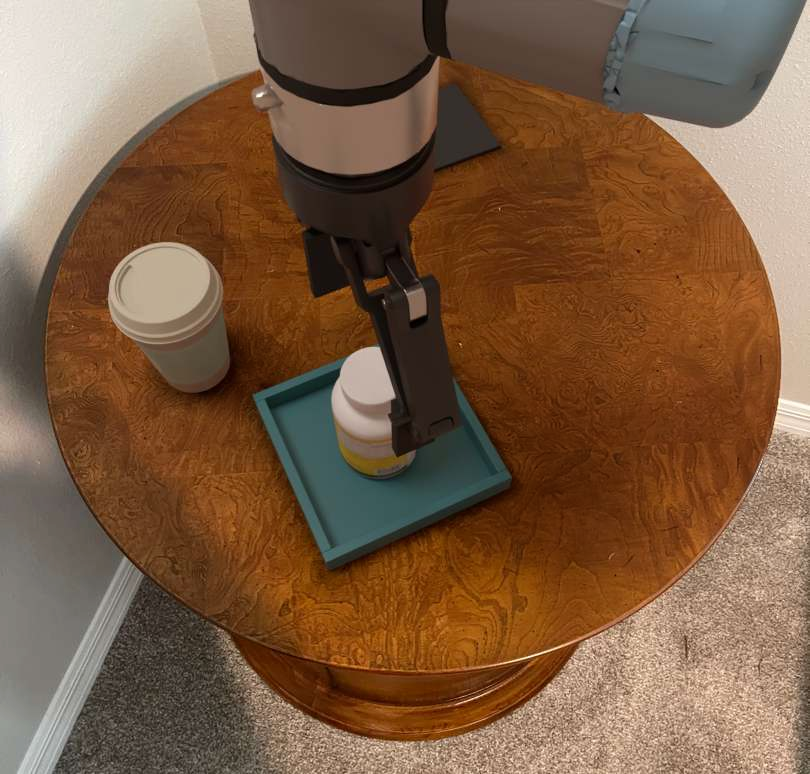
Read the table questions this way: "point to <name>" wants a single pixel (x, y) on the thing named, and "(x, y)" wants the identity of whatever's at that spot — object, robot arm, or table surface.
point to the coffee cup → (173, 313)
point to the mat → (459, 130)
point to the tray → (362, 496)
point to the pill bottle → (366, 416)
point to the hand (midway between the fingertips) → (369, 362)
